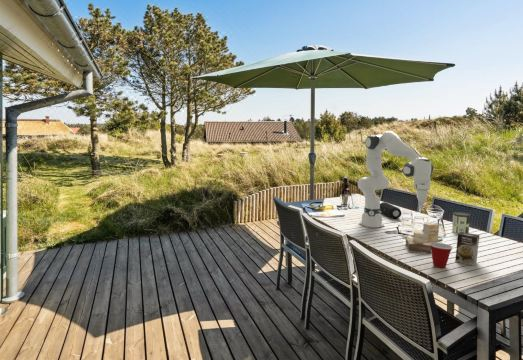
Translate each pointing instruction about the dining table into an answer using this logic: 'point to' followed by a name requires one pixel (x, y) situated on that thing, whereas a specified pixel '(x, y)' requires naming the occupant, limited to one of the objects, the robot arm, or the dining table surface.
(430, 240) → the supplement box
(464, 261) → the coffee box
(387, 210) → the portable speaker
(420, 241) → the maple block
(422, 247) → the walnut block
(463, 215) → the coffee can
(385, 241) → the dining table surface
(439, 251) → the plastic cup
